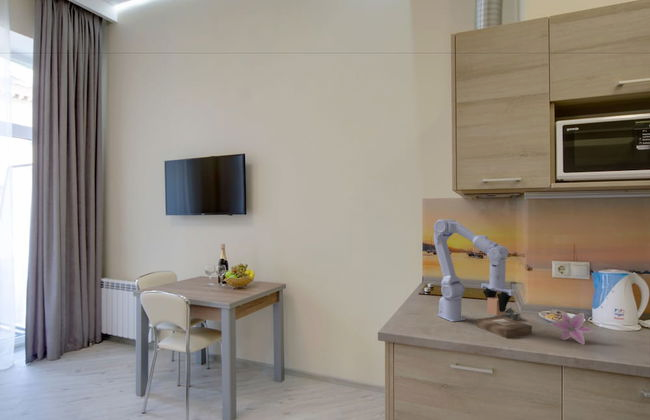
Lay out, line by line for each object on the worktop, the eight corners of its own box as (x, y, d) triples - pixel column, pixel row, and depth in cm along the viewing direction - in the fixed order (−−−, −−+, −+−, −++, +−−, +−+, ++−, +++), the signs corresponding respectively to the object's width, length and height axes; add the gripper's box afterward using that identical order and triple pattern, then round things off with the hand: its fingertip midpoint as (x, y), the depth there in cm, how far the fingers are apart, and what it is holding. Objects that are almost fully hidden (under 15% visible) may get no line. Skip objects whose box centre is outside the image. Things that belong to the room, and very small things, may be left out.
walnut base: (477, 326, 147) (477, 318, 147) (501, 322, 152) (501, 315, 152) (506, 338, 134) (506, 329, 134) (531, 333, 140) (531, 325, 140)
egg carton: (511, 315, 164) (511, 307, 164) (523, 321, 157) (523, 311, 157) (490, 316, 163) (490, 307, 163) (500, 321, 155) (501, 312, 155)
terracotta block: (487, 312, 143) (487, 297, 143) (495, 311, 145) (495, 296, 145) (496, 315, 139) (496, 300, 139) (505, 314, 141) (505, 299, 141)
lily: (545, 336, 139) (547, 319, 135) (563, 322, 144) (566, 304, 139) (578, 356, 130) (581, 338, 125) (596, 340, 134) (600, 322, 129)
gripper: (475, 273, 147) (475, 305, 147) (505, 279, 134) (504, 315, 134) (488, 272, 150) (488, 304, 150) (518, 278, 137) (518, 313, 137)
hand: (496, 309), depth 142 cm, fingers closed on terracotta block, 5 cm apart
